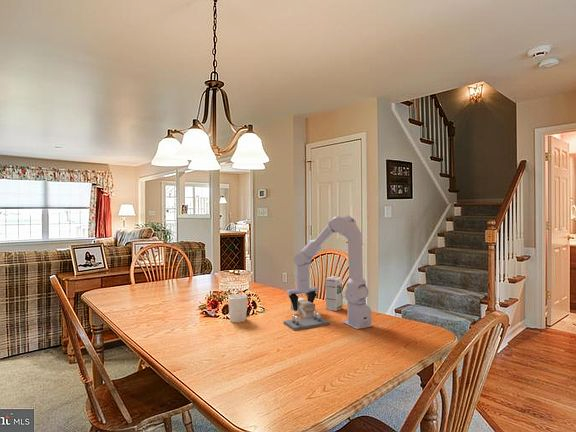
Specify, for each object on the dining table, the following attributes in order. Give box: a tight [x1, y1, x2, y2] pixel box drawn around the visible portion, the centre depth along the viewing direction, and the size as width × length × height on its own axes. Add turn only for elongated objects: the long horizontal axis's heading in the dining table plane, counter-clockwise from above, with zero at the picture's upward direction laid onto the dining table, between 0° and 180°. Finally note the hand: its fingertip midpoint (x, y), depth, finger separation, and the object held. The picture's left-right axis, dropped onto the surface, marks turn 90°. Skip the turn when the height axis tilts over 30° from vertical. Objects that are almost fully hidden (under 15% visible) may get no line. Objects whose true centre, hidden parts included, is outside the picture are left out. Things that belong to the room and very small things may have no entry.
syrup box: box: [325, 275, 343, 312], centre depth 168 cm, size 6×6×14 cm
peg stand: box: [283, 310, 330, 331], centre depth 146 cm, size 16×9×4 cm, turn 117°
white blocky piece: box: [290, 296, 316, 318], centre depth 162 cm, size 14×4×6 cm, turn 27°
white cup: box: [227, 293, 248, 323], centre depth 151 cm, size 8×8×10 cm
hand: (302, 309), depth 162 cm, fingers open, 7 cm apart
